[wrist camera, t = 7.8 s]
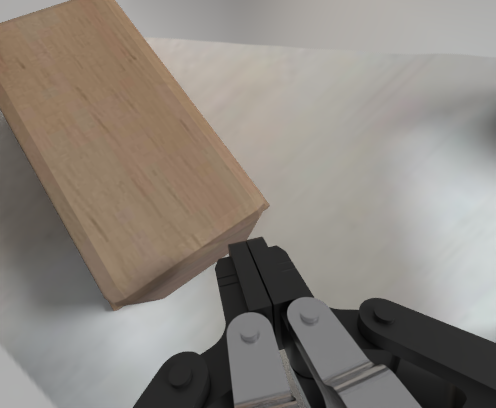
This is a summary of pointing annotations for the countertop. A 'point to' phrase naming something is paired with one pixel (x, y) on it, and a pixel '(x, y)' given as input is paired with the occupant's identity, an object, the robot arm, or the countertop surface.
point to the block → (121, 150)
